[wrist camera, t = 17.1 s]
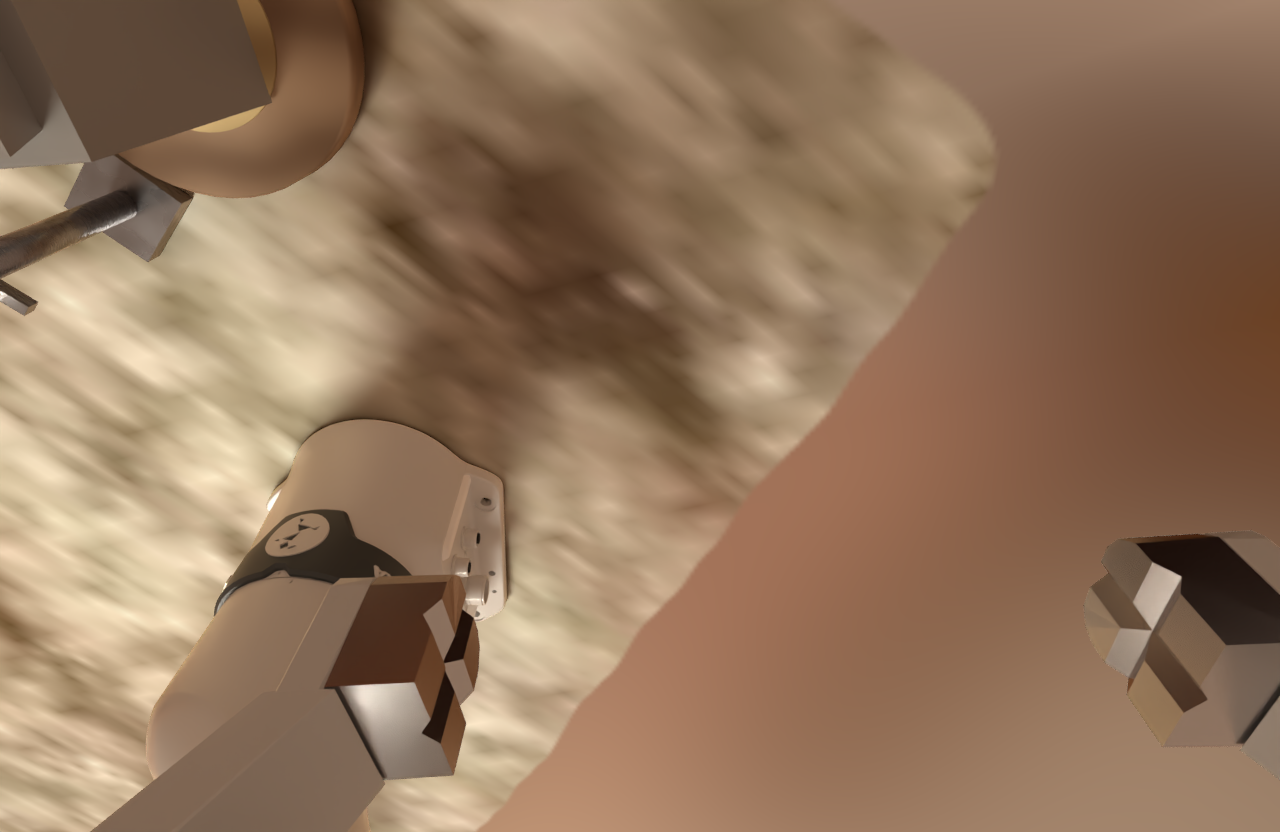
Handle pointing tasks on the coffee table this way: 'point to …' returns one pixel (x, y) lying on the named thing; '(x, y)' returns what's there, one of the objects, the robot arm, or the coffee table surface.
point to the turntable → (274, 106)
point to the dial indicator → (97, 220)
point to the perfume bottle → (118, 75)
